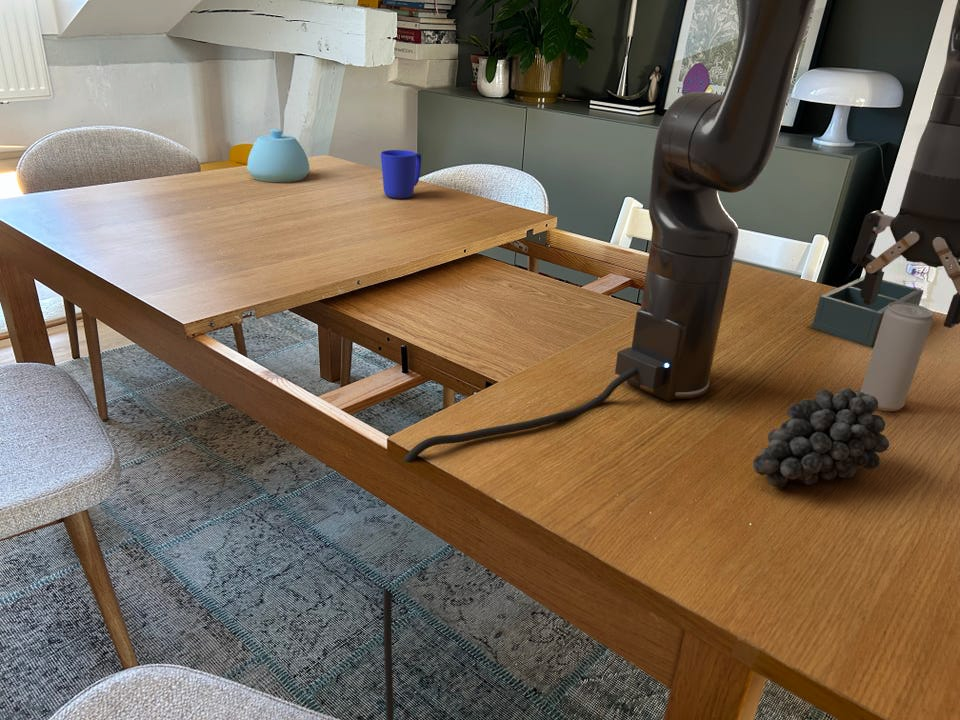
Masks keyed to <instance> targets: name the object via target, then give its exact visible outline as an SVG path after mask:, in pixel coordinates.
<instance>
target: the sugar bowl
mask: <svg viewBox="0 0 960 720" xmlns="http://www.w3.org/2000/svg"><path fill="white" fill-rule="evenodd" d="M283 132H284V130H282V129H279V128H273V129H269V133H270V134H267V135H261V136H258V137H257V138H256V140H255V142H254V144H253V146H251V147H252V148H251V149H250V152H249V155H248V158H247V165H246V166H247V171H248V173H249V174H250V175H251V176H252V177H253V178H254V179H255V180H257V181H261V182H265V183H292V182H299V181H301V180H304V179H305V178H306V177H307V175H308V174H309V172H310V169H311V168H310V163H309V159H308V156H307V153H306V152H305V150H304V148H303V146H302V145H301V144H300V142H299V141H298V140H297V138H296V137H295V136H291V135H285V134H283Z"/></svg>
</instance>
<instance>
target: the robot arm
mask: <svg viewBox="0 0 960 720" xmlns="http://www.w3.org/2000/svg"><path fill="white" fill-rule="evenodd" d="M735 1H736V7H737V15H738V37H737V46H736V50H735V56H734V60H733V62H732V63H733V64H732V67H731V70H730V74H729V76H728V79H727V83H726V84H725V85H726V86H725V89H724V91H723V94H719V93H713V92H707V91H692V92H688V93H685V94H683V95H681V96H679V97H677V99H675V100H674V101H673V102H672V103H671V104H670V106H669V107H668V108H667V109H666V111H665V113H664V114H663V117H662V119H661V121H660V124H659V126H658V129H657V133H656V137H655V143H654V149H653V157H652V166H651V177H650V187H649V199H648V200H649V201H648V215H649V219H650V223H651V237H650V244H649V251H648V252H649V253H648V258H647V265H646V271H645V278H644V284H643V285H644V286H643V291H642V298H641V304H640V309H638V310H637V311H636V315H635V319H634V320H635V321H634V327H633V333H632V341H631V346H628V347H626V348H624V349H621V350H619V351H617V356H616V363H615V370H614V374H616V375H617V377H616V378H615V379H613V380H612V381H611V382H610V383H609V384H608V385H607V387H605V389H604V390H603V391H602V392H601V393H600V394H599V395H597V396H596V397H594V398H593V399H591V400H590V401H588V402H586V403H585V404H582V405H581V406H577V407H576V408H572V409H569V410H568V409H567V410H565V411H560V412H557V413H552V414H549V415H545V416H542V417H538V418H534V419H530V420H526V421H521V422H516V423H515V422H514V423H509V424H502V425H497V426H492V427H491V426H490V427H485V428H481V429H476V430H471V431H467V432H462V433H456V434H445V435H443V434H442V435H436V436H432V437H428V438H426V439H424V440H422V441H420V442H418V443H417V444H416V445H414V446H413V447H412V448H411V449H410V450H409V451H408V452H407V454H406V455H405V457H404V458H403V462H404V463H411V462H413V461H414V460H415V459H416V458H417V457H418V456H419V455H421V454H422V453H423V452H424V451H426V450H428V449H429V448H431V447H435V446H440V445H448V444H449V445H450V444H459V443H465V442H469V441H473V440H474V441H475V440H477V439H483V438H488V437H494V436H498V435H504V434H509V433H515V432H522V431H525V430H526V431H527V430H530V429H535V428H539V427H542V426H546V425H549V424H553V423H557V422H561V421H564V420H569V419H572V418H574V417H577V416H578V415H579V416H580V415H581V414H583V413H585V412H587V411H589V410H591V409H594V408H596V407H597V406H599V405H600V404H602V403H603V402H605V401H606V400H607V399H609V397H610V396H611V395H612V394H613V392H614V391H615V390H616V389H617V388H618V387H620V386H621V385H622V384H623V383H626V384H629V385H630V386H633V387H635V388H637V389H640V390H642V391H644V392H647V393H649V394H650V395H653V396H655V397H658V398H660V399H662V400H664V401H666V402H671V401H672V400H687V399H695V398H698V397H702V396H703V395H705V394H706V393H707V392H708V390H709V387H710V382H711V379H710V377H711V373H712V369H713V368H712V367H713V364H714V357H715V353H716V347H717V343H718V339H719V332H720V328H721V324H722V323H721V322H722V318H723V313H724V308H725V304H726V299H727V294H728V293H727V292H728V288H729V284H730V283H729V282H730V278H731V274H732V270H733V263H734V259H735V255H736V249H737V244H738V240H739V226H738V225H737V222H735V220H734V219H733V218H732V217H731V216H730V215H729V214H728V212H727V211H726V210H725V208H724V207H723V204H722V202H721V199H720V197H719V192H721V193H727V194H728V193H729V194H735V193H740V192H743V191H745V190H747V189H748V188H750V187H751V186H752V185H753V184H755V182H757V180H758V179H759V178H760V177H761V176H762V173H763V172H764V171H765V169H766V168H767V166H768V163H769V161H770V159H771V158H772V155H773V152H774V149H775V146H776V144H777V140H778V137H779V134H780V130H781V126H782V122H783V118H784V115H785V111H786V110H785V109H786V106H787V103H788V97H789V93H790V89H791V85H792V82H793V77H794V74H795V70H796V66H797V62H798V57H799V55H800V52H801V51H800V50H801V47H802V43H803V40H804V37H805V34H806V31H807V29H808V28H807V27H808V24H809V21H810V19H811V17H812V16H811V15H812V12H813V10H814V9H813V8H814V5H815V2H816V0H735ZM944 63H945V64H944V67H943V71H942V73H941V76H940V78H939V81H938V84H937V87H936V90H935V94H934V98H933V101H932V104H931V108H930V111H929V115H928V118H927V119H928V120H927V121H926V124H925V127H924V129H923V132H922V133H921V136H920V138H919V141H918V143H917V146H916V150H915V154H914V156H913V160H912V164H911V167H910V171H909V174H908V177H907V178H908V179H907V182H906V186H905V189H904V192H903V195H902V200H901V203H900V206H899V211H898V212H897V214H896V216H892V215H889V214H885V213H884V211H882V210H881V209H880V210H879V209H878V210H877V209H876V210H874V211H872V212H870V213H866V215H865V216H864V218H863V222H862V224H861V228H860V230H859V233H858V237H857V240H856V242H855V246H854V249H853V252H852V254H851V258H850V259H851V262H852V264H854V265H858V266H860V267H861V268H863V269H864V271H865V274H864V276H865V278H864V281H863V285H862V289H861V292H860V295H861V298H864V301H863V303H864V304H867V305H871V304H873V303H875V301H876V299H877V296H878V293H879V289H880V286H881V282H882V280H884V279H883V278H884V275H885V271H883V269H884V268H885V267H887V266H888V265H890V264H891V263H892V262H894V261H896V260H897V259H899V258H900V257H901V256H902V257H903V258H904V259H905V261H906V262H910V263H922V264H924V265H926V266H928V267H931V268H935V269H937V268H939V267H943V268H944V271H945V272H946V275H947V277H948V278H949V279H951V282H952V284H953V286H954V288H955V291H956V293H954V294H953V295H952V298H951V301H950V304H949V307H948V309H947V313H946V316H945V319H944V321H943V322H944V323H943V327H945V328H949V329H952V328H953V327H955V326H956V325H957V326H958V325H959V324H960V0H957V1H956V5H955V9H954V14H953V19H952V23H951V27H950V34H949V38H948V46H947V50H946V58H945V62H944ZM886 228H889V229H890V233H891V235H892V237H893V239H894V241H895V243H894V244H893V245H891V246H890V247H888V249H886V250H884V251H883V252H882V253H880V255H878V256H874V255H872V254H873V250H874V246H875V244H876V241H877V238H878V235H879V234H881V233H883V232H884V231H885V230H886ZM392 598H393V594H392V592H391V591H389V590H388V589H387V587H385V586H383V655H384V656H383V657H384V658H383V659H384V687H385V689H384V690H385V716H386V718H385V719H386V720H394V685H393V684H394V682H393V681H394V680H393V677H394V676H393V646H392V645H393V644H392V643H393V639H392V638H393V637H392V632H393V631H392V629H393V628H392V607H393V605H392V604H393V602H392V601H393V599H392Z"/></svg>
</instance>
